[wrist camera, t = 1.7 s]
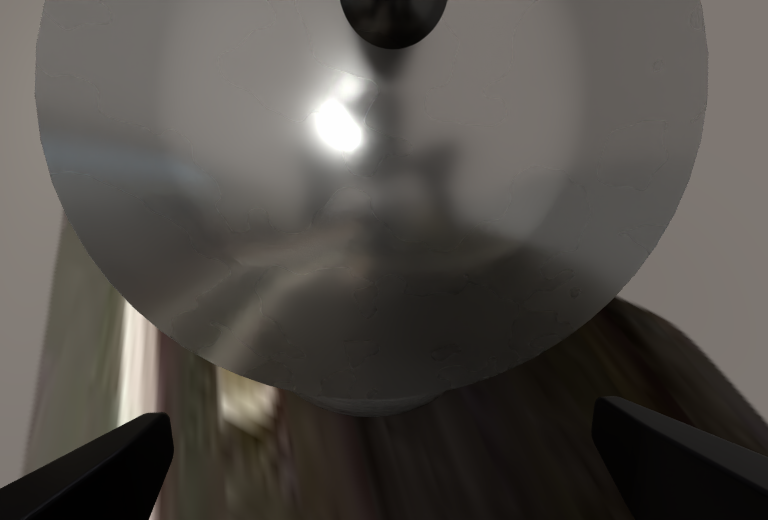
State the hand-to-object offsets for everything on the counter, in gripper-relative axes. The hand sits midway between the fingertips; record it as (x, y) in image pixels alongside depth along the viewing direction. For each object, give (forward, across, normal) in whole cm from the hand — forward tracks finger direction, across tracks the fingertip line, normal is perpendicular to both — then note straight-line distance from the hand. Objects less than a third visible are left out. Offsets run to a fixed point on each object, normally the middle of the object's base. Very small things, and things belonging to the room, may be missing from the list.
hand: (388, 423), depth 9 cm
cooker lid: (+2, 0, -7) cm, 7 cm away
